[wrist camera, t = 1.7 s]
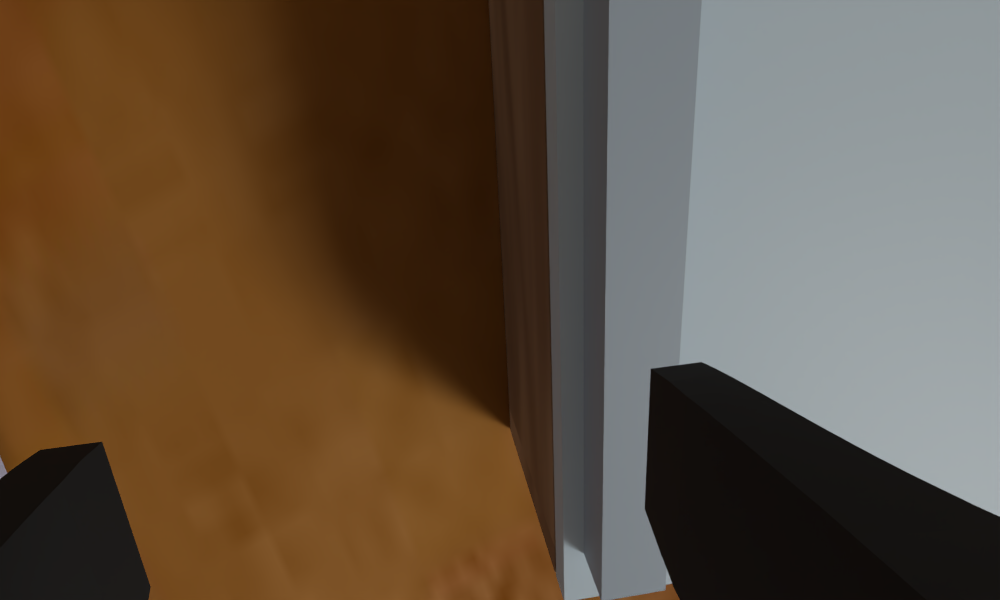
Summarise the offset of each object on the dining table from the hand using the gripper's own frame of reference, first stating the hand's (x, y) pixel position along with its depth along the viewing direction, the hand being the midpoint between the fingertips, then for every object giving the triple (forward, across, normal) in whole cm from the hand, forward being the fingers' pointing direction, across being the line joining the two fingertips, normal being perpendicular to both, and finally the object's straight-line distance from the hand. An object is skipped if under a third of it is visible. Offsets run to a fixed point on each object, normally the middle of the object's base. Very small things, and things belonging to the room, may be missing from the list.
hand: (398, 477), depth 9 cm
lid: (+5, -10, 0) cm, 11 cm away
